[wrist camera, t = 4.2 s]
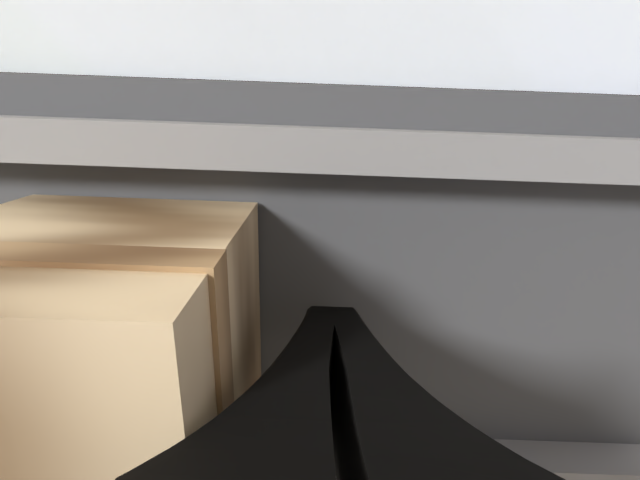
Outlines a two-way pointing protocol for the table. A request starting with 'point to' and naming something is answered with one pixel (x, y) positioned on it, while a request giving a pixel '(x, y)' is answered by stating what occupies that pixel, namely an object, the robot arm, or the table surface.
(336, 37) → the table surface
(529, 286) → the crate bay
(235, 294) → the block
